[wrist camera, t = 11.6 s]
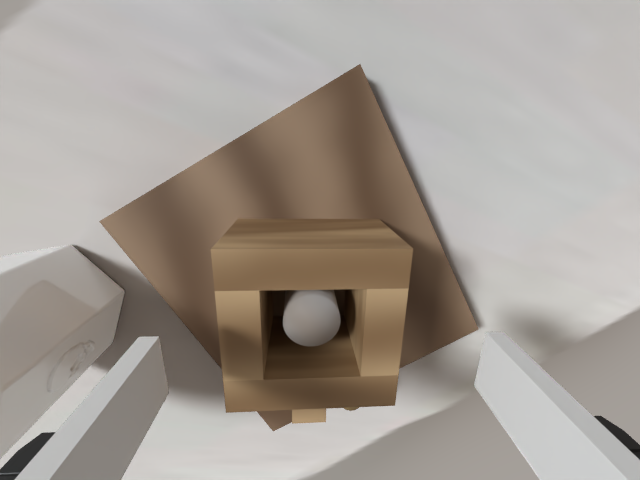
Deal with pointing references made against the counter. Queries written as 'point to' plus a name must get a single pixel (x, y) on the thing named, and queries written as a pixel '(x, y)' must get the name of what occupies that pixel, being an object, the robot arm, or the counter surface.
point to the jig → (295, 203)
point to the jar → (49, 330)
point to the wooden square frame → (310, 274)
